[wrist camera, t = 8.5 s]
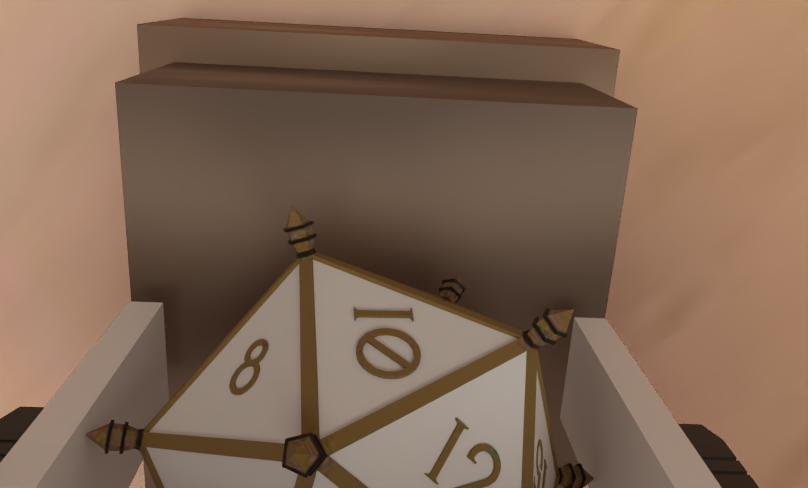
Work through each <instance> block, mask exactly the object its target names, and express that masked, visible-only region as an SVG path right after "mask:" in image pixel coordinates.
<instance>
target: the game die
mask: <svg viewBox="0 0 808 488" xmlns="http://www.w3.org/2000/svg"><path fill="white" fill-rule="evenodd" d="M312 224H314V221H309V220H308V219H307V218H306V217H304V216H303V215H302V214H301V213H300V212H299V211H298V210H296V209H295V208H294V207H293V206H292V205H291V209H290V213H289V217H288V221H287V226H286V228H284V229H283V230H284V232H286V233H287V234H288V236H289V239H290V240H289V241H288V244H290V245H292V246H293V247H294V249H295V251H296V258H295V259H294V261H293V262H292V263H291V264H290V265H289V266H288V267H287V268H286V270H285V271H284V272H283V273H282V274H281V275H280V276H279V277H278V279H277V280H276V281H275V282H274V283H273V284H272V285H271V286H270V288H269V289H268V290H267V291H266V292H265V293H264V294H263V295H262V297H261V298H260V299H259V300H258V301H257V302H256V303H255V304H254V306H253V307H252V308H251V309H250V310H249V311H248V312H247V313H246V315H245V316H244V317H243V318H242V319H241V320H240V321H239V322H238V324H237V325H236V326H235V327H234V328H233V329H232V330H231V331H230V333H229V334H228V335H227V336H226V337H225V338H224V339H223V340H222V342H221V343H220V344H219V345H218V346H217V347H216V348H215V349H214V351H213V352H212V353H211V354H210V355H209V356H208V357H207V358H206V359H205V361H204V362H203V363H202V364H201V365H200V366H199V367H198V368H197V370H196V371H195V372H194V373H193V374H192V375H191V376H190V377H189V379H188V380H187V381H186V382H185V383H184V384H183V385H182V386H181V388H180V389H179V390H178V391H177V392H176V393H175V394H174V395H173V397H172V398H171V399H170V400H169V401H168V402H167V403H166V404H165V406H164V407H163V408H162V409H161V410H160V411H159V412H158V413H157V415H156V416H155V417H154V418H153V419H152V420H151V421H150V422H149V424H148V425H147V426H146V427H145V428H144V429H137V428H134V427H132V426H129V425H128V423H129V422H125V424H118V423H114V420H111V422H110V423H109V424H106V425H104V426H102V427H100V428H97V429H95V430H93V431H91V432H88V433H87V434H86V436H87V437H88V438H89V439H91V440H92V441H93V442H95V443H96V444H97V445H99V446H100V447H101V448H103V449H104V450H105V454H108V452H109V451H119V454H123V451H127V450H132V449H136V450H139V451H140V452H141V454H142V457H143V459H144V461H145V463H146V465H147V468H148V470H149V472H150V474H151V477H152V479H153V481H154V483H155V485H156V488H557V486H558V485H559V484H560V485H562V486H563V487H565V488H583V487H584V486H586V485H587V484H588V483H590V482H591V481H592V480H594V478H593V477H592V476H591V475H590V474H589V473H588V472H587V471H585V470H584V469H583V467H582V464H581V463H578V464H577V465H575V466H572V464H571V463H568V464H566V465H564V466H563V467H558V464H557V458H556V453H555V447H554V441H553V435H552V430H551V424H550V418H549V412H548V407H547V401H546V395H545V389H544V384H543V378H542V372H541V367H540V361H539V355H538V349H539V347H540V346H542V345H546V344H551V345H554V344H556V342H555V340H557V339H558V338H560V337H564V338H566V337H567V334H566V331H567V328H568V325H569V322H570V319H571V316H572V313H573V311H574V309H569V310H549V309H548V308H547V309H546V310H545V311H544V314H543V316H541V317H540V318H539V317H538V316H537V317H536V318H535V319H534V321H533V323H532V327H531V328H530V330H527V331H523V330H520V329H518V328H515V327H513V326H510V325H508V324H505V323H503V322H500V321H498V320H496V319H493V318H491V317H488V316H486V315H483V314H481V313H478V312H476V311H473V310H471V309H469V308H466V307H464V306H461V305H459V304H456V303H457V301H458V300H459V299H460V298H461V294H462V293H463V292H464V291H465V289H466V288H465V287H464V286H463V285H462V281H461V278H460V275H459V276H457V277H454V278H451V279H447V280H442V284H443V286H442V287H439V293H440V297H438V296H436V295H433V294H430V293H427V292H425V291H422V290H419V289H416V288H414V287H411V286H408V285H406V284H403V283H400V282H397V281H395V280H392V279H389V278H386V277H384V276H381V275H378V274H376V273H373V272H370V271H367V270H365V269H362V268H359V267H356V266H354V265H351V264H348V263H345V262H343V261H340V260H337V259H335V258H332V257H329V256H326V255H324V254H321V253H318V252H316V250H315V249H314V238H315V237H317V235H316V233H315V234H313V230H312Z"/></svg>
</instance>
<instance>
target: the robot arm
mask: <svg viewBox="0 0 808 488" xmlns="http://www.w3.org/2000/svg"><path fill="white" fill-rule="evenodd" d="M168 401H169V392H168V376H167V359H166V343H165V326H164V310H163V303H160V302H132V301H129V303H128V304H127V305H126V306H125V308H124V309H123V310H122V311H121V313H120V314H119V315H118V316H117V318H116V319H115V320H114V321H113V323H112V324H111V325H110V326H109V328H108V329H107V330H106V331H105V333H104V334H103V335H102V336H101V338H100V339H99V340H98V341H97V343H96V344H95V345H94V346H93V348H92V349H91V350H90V351H89V353H88V354H87V355H86V356H85V358H84V359H83V360H82V361H81V363H80V364H79V365H78V366H77V368H76V369H75V370H74V371H73V373H72V374H71V375H70V376H69V378H68V379H67V380H66V381H65V383H64V384H63V385H62V386H61V388H60V389H59V390H58V391H57V393H56V394H55V395H54V396H53V398H52V399H51V400H50V401H49V403H48V404H47V405H46V406H45V407H19V408H17V409H16V410H14V411H12V412H11V413H9V414H7V415H6V416H4V417H2V418H1V419H0V488H129V486H130V484H131V482H132V480H133V478H134V476H135V474H136V472H137V470H138V468H139V466H140V464H141V462H142V460H143V457H142V454H141V452H140V451H139V450H136V449H132V450H127V451H123V454H119V451H109V452H108V454H105V450H104V449H103V448H101V447H100V446H99V445H97V444H96V443H95V442H93V441H92V440H91V439H89V438H88V437H87V436H86V434H87V433H88V432H91V431H93V430H95V429H97V428H100V427H102V426H104V425H106V424H109V423H110V422H111V420H114V423H118V424H125V422H129V423H128V425H129V426H132V427H134V428H137V429H144V428H145V427H146V426H147V425H148V424H149V422H150V421H151V420H152V419H153V418H154V417H155V416H156V415H157V413H158V412H159V411H160V410H161V409H162V408H163V407H164V406H165V404H166V403H167V402H168ZM560 419H561V422H562V424H563V427H564V429H565V431H566V434H567V436H568V439H569V441H570V443H571V446H572V448H573V451H574V453H575V455H576V458H577V460H578V462H579V463H581V464H582V467H583V469H584V470H585V471H587V472H588V473H589V474H590V475H591V476H592V477H593V478H594V480H592V481H591V482H590V483H588V486H589V488H759V487H758V486H757V484H756V483H755V482H754V480H753V479H752V478H751V476H750V475H747V471H746V470H745V468H744V467H743V466H742V464H741V463H740V462H739V461H736V457H735V455H734V454H733V453H732V451H731V450H730V449H729V447H728V446H727V445H726V443H725V442H724V441H723V440H722V439H721V438H719V437H718V436H717V435H715V434H714V433H712V432H711V431H710V430H708V429H707V428H705V427H704V426H703V425H697V424H678V423H677V422H676V420H675V419H674V417H673V416H672V414H671V413H670V411H669V410H668V408H667V407H666V405H665V404H664V403H663V401H662V400H661V398H660V397H659V395H658V394H657V392H656V391H655V389H654V388H653V386H652V385H651V384H650V382H649V381H648V379H647V378H646V376H645V375H644V373H643V372H642V370H641V369H640V367H639V366H638V364H637V363H636V362H635V360H634V359H633V357H632V356H631V354H630V353H629V351H628V350H627V348H626V347H625V345H624V344H623V343H622V341H621V340H620V338H619V337H618V335H617V334H616V332H615V331H614V329H613V328H612V326H611V325H610V324H609V322H608V321H607V319H606V318H580V317H574V322H573V329H572V336H571V343H570V350H569V357H568V364H567V371H566V378H565V385H564V393H563V400H562V407H561V414H560Z"/></svg>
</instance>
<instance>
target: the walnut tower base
mask: <svg viewBox="0 0 808 488" xmlns="http://www.w3.org/2000/svg"><path fill="white" fill-rule="evenodd" d="M137 32H138V47H139V63H140V74H139V75H136V76H133V77H130V78H128V79H125V80H122V81H119V82H116V83H115V88H116V101H117V114H118V128H119V141H120V154H121V168H122V181H123V194H124V208H125V221H126V234H127V248H128V261H129V274H130V287H131V301H132V302H160V303H163V310H164V326H165V343H166V359H167V376H168V392H169V400H170V399H171V398H172V397H173V395H174V394H175V393H176V392H177V391H178V390H179V389H180V388H181V386H182V385H183V384H184V383H185V382H186V381H187V380H188V379H189V377H190V376H191V375H192V374H193V373H194V372H195V371H196V370H197V368H198V367H199V366H200V365H201V364H202V363H203V362H204V361H205V359H206V358H207V357H208V356H209V355H210V354H211V353H212V352H213V351H214V349H215V348H216V347H217V346H218V345H219V344H220V343H221V342H222V340H223V339H224V338H225V337H226V336H227V335H228V334H229V333H230V331H231V330H232V329H233V328H234V327H235V326H236V325H237V324H238V322H239V321H240V320H241V319H242V318H243V317H244V316H245V315H246V313H247V312H248V311H249V310H250V309H251V308H252V307H253V306H254V304H255V303H256V302H257V301H258V300H259V299H260V298H261V297H262V295H263V294H264V293H265V292H266V291H267V290H268V289H269V288H270V286H271V285H272V284H273V283H274V282H275V281H276V280H277V279H278V277H279V276H280V275H281V274H282V273H283V272H284V271H285V270H286V268H287V267H288V266H289V265H290V264H291V263H292V262H293V261H294V259H295V258H296V251H295V249H294V247H293V246H292V245H290V244H288V241H289V240H290V239H289V236H288V234H287V233H286V232H284V230H283V229H284V228H286V226H287V221H288V217H289V213H290V209H291V205H292V206H293V207H294V208H295V209H296V210H298V211H299V212H300V213H301V214H302V215H303V216H304V217H306V218H307V219H308V220H309V221H314V224H312V230H313V234H315V233H316V235H317V237H315V238H314V249H315V250H316V252H318V253H321V254H324V255H326V256H329V257H332V258H335V259H337V260H340V261H343V262H345V263H348V264H351V265H354V266H356V267H359V268H362V269H365V270H367V271H370V272H373V273H376V274H378V275H381V276H384V277H386V278H389V279H392V280H395V281H397V282H400V283H403V284H406V285H408V286H411V287H414V288H416V289H419V290H422V291H425V292H427V293H430V294H433V295H436V296H438V297H440V293H439V287H442V286H443V284H442V280H447V279H451V278H454V277H457V276H459V275H460V278H461V281H462V285H463V286H464V287H465V288H466V289H465V291H464V292H463V293H462V294H461V298H460V299H459V300H458V301H457V303H456V304H459V305H461V306H464V307H466V308H469V309H471V310H473V311H476V312H478V313H481V314H483V315H486V316H488V317H491V318H493V319H496V320H498V321H500V322H503V323H505V324H508V325H510V326H513V327H515V328H518V329H520V330H523V331H527V330H530V328H531V327H532V323H533V321H534V319H535V318H536V317H537V316H538V317H539V318H540V317H541V316H543V314H544V311H545V310H546V309H547V308H548V309H549V310H569V309H574V311H573V313H572V316H571V319H570V322H569V325H568V328H567V331H566V334H567V337H566V338H564V337H560V338H558V339H557V340H555V342H556V344H554V345H551V344H546V345H542V346H540V347H539V349H538V355H539V361H540V367H541V372H542V378H543V384H544V389H545V395H546V401H547V407H548V412H549V418H550V424H551V430H552V435H553V441H554V447H555V453H556V458H557V464H558V467H563V466H564V465H566V464H568V463H571V464H572V466H575V465H577V464H578V463H579V462H578V460H577V458H576V455H575V453H574V451H573V448H572V446H571V443H570V441H569V439H568V436H567V434H566V431H565V429H564V427H563V424H562V422H561V419H560V414H561V407H562V400H563V393H564V385H565V378H566V371H567V364H568V357H569V350H570V343H571V336H572V329H573V322H574V317H580V318H605V313H606V307H607V301H608V294H609V288H610V281H611V275H612V269H613V262H614V256H615V250H616V243H617V237H618V230H619V224H620V218H621V211H622V205H623V198H624V192H625V186H626V179H627V173H628V167H629V160H630V154H631V147H632V141H633V135H634V128H635V122H636V115H637V108H635V107H633V106H631V105H629V104H626V103H624V102H622V101H620V100H618V99H616V98H613V95H614V88H615V81H616V74H617V68H618V61H619V54H620V50H618V49H614V48H610V47H606V46H602V45H598V44H594V43H590V42H586V41H582V40H578V39H564V38H546V37H527V36H508V35H490V34H471V33H452V32H434V31H415V30H396V29H378V28H359V27H340V26H322V25H303V24H284V23H266V22H247V21H228V20H210V19H191V18H179V19H172V20H165V21H158V22H151V23H144V24H137ZM143 460H144V459H143ZM144 474H145V487H146V488H156V485H155V483H154V481H153V479H152V477H151V474H150V472H149V470H148V468H147V465H146V463H145V461H144ZM557 488H565V487H563V486H562V485H560V484H559V485H558V486H557Z"/></svg>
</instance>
